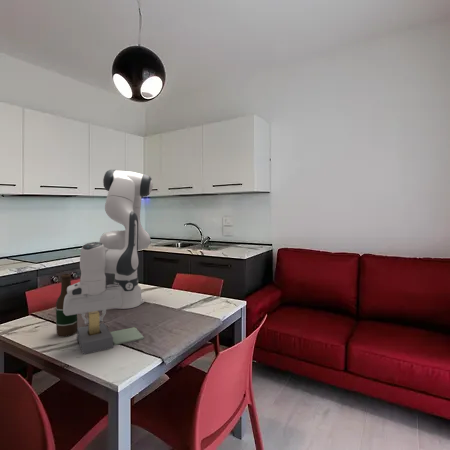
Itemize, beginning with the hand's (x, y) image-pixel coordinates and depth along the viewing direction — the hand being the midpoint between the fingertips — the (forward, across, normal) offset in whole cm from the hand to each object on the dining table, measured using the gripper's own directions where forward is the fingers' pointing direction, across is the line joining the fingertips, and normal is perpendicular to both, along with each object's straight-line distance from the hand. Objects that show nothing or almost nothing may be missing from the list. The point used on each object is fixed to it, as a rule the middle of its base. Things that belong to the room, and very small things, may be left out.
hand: (93, 322), depth 118 cm
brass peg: (+6, 0, 0) cm, 6 cm away
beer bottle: (+8, +8, -15) cm, 18 cm away
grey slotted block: (+8, 0, 0) cm, 8 cm away
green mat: (+8, -12, 0) cm, 14 cm away
